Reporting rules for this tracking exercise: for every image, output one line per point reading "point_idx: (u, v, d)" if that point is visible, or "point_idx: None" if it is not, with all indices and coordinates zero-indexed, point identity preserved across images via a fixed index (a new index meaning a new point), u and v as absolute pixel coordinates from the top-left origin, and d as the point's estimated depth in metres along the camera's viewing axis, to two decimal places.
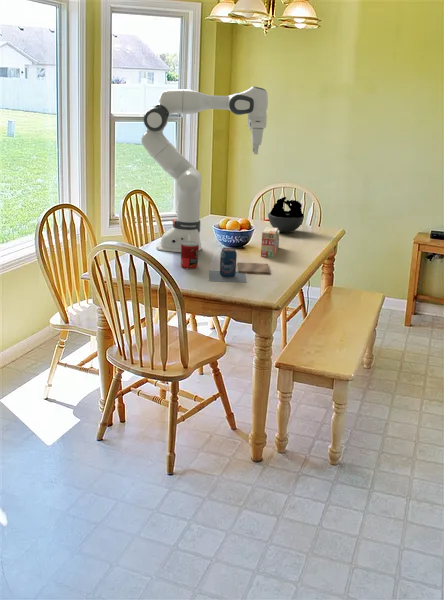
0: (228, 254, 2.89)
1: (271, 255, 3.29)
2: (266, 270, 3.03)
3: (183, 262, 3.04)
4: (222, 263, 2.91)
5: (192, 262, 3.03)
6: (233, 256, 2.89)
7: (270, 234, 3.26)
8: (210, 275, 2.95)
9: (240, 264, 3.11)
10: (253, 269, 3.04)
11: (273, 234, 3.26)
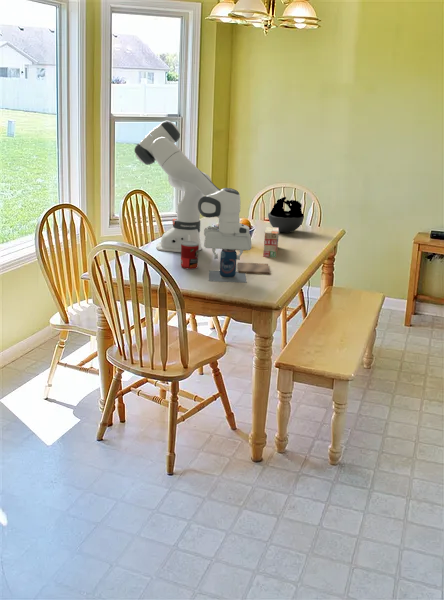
0: (228, 254, 2.89)
1: (274, 255, 3.30)
2: (266, 270, 3.03)
3: (183, 262, 3.04)
4: (222, 263, 2.91)
5: (192, 262, 3.03)
6: (233, 256, 2.89)
7: (273, 234, 3.26)
8: (210, 275, 2.95)
9: (240, 264, 3.11)
10: (253, 269, 3.04)
11: (276, 234, 3.26)
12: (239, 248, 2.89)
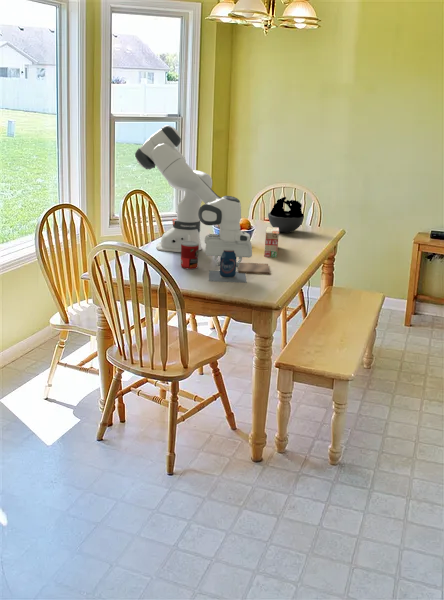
0: (228, 254, 2.89)
1: (275, 255, 3.30)
2: (266, 270, 3.03)
3: (183, 262, 3.04)
4: (222, 263, 2.91)
5: (192, 262, 3.03)
6: (233, 256, 2.89)
7: (274, 234, 3.26)
8: (210, 275, 2.95)
9: (240, 264, 3.11)
10: (253, 269, 3.04)
11: (277, 234, 3.26)
12: (240, 255, 2.91)
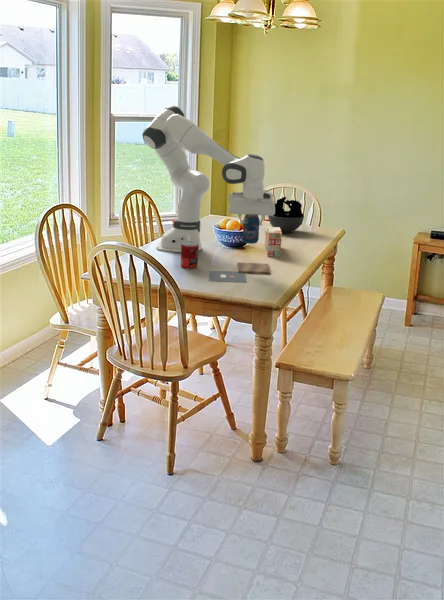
0: (251, 220, 2.94)
1: (278, 255, 3.31)
2: (266, 270, 3.03)
3: (183, 262, 3.04)
4: (245, 229, 2.96)
5: (192, 262, 3.03)
6: (256, 222, 2.95)
7: (277, 234, 3.27)
8: (210, 275, 2.95)
9: (240, 264, 3.11)
10: (253, 269, 3.04)
11: (280, 234, 3.27)
12: (263, 214, 2.95)
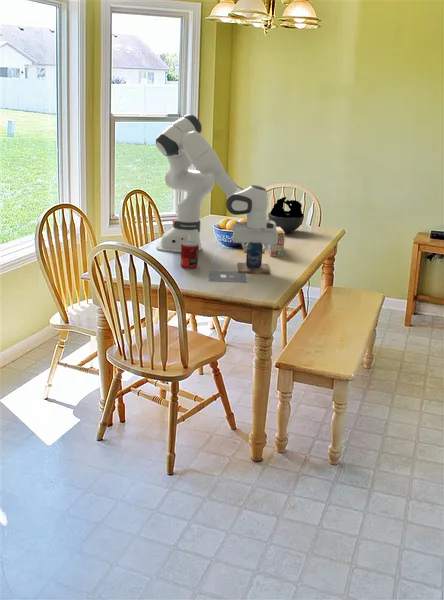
0: (254, 246, 3.01)
1: (281, 254, 3.32)
2: (266, 270, 3.03)
3: (183, 262, 3.04)
4: (249, 255, 3.03)
5: (192, 262, 3.03)
6: (259, 248, 3.01)
7: (280, 233, 3.28)
8: (210, 275, 2.95)
9: (240, 264, 3.11)
10: (253, 269, 3.04)
11: (283, 233, 3.28)
12: (266, 243, 3.02)
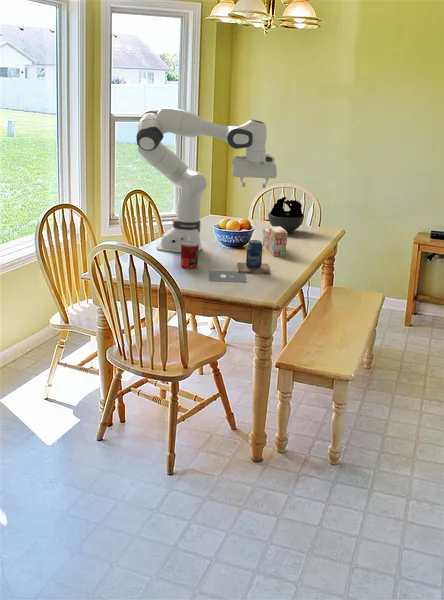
0: (254, 246, 3.01)
1: (283, 254, 3.33)
2: (266, 270, 3.03)
3: (183, 262, 3.04)
4: (249, 255, 3.03)
5: (192, 262, 3.03)
6: (259, 248, 3.01)
7: (283, 233, 3.29)
8: (210, 275, 2.95)
9: (240, 264, 3.11)
10: (253, 269, 3.04)
11: (286, 233, 3.29)
12: (265, 176, 3.11)
